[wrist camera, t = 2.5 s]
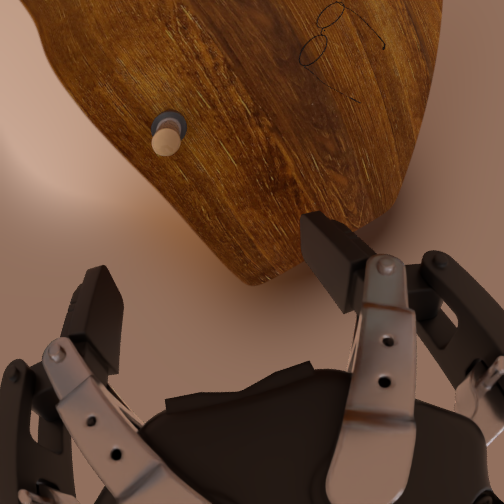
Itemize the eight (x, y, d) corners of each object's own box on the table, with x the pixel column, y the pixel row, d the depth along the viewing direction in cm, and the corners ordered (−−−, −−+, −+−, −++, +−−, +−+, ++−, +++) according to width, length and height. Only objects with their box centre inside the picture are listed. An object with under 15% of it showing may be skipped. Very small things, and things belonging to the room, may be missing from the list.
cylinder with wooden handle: (155, 140, 29) (142, 170, 17) (154, 111, 27) (138, 119, 15) (185, 137, 29) (192, 164, 18) (185, 108, 28) (192, 114, 16)
